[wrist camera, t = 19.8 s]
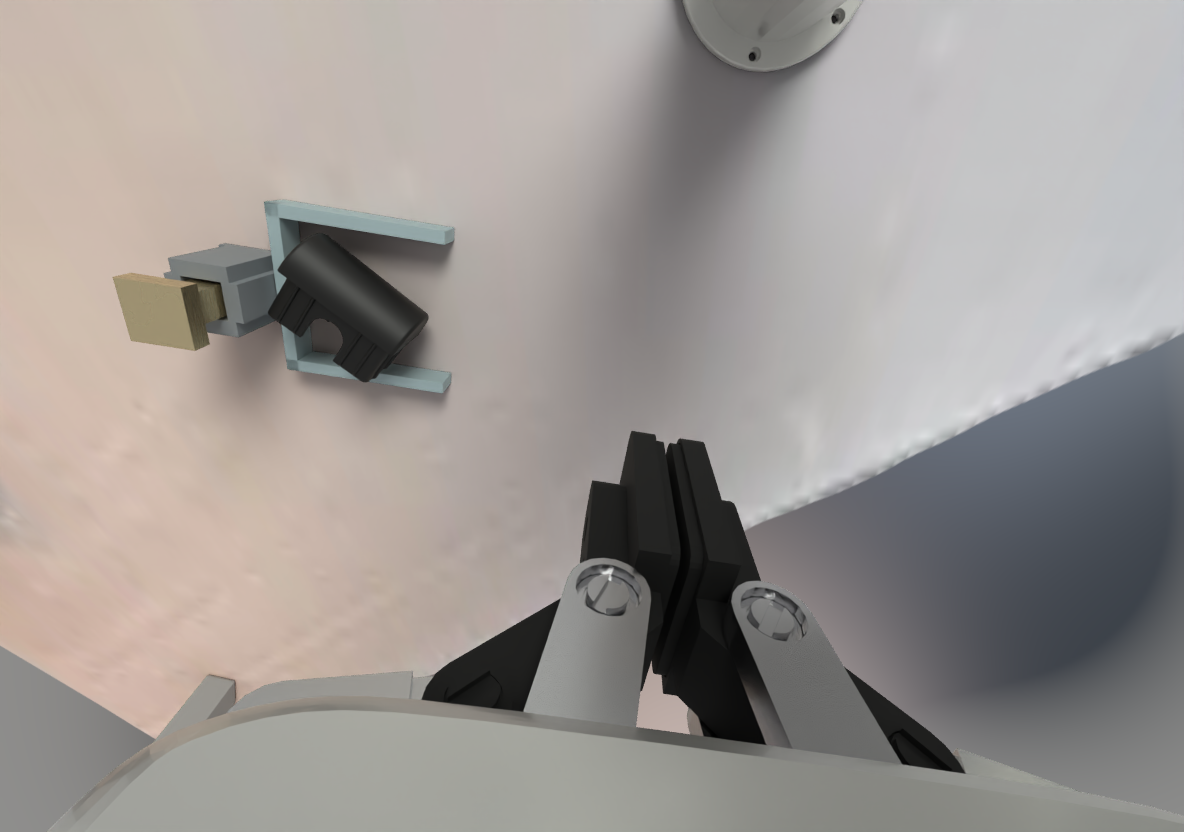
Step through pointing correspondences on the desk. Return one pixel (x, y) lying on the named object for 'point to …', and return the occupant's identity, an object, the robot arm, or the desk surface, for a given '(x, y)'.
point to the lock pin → (169, 309)
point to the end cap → (346, 305)
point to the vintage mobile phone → (203, 704)
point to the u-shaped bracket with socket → (258, 282)
